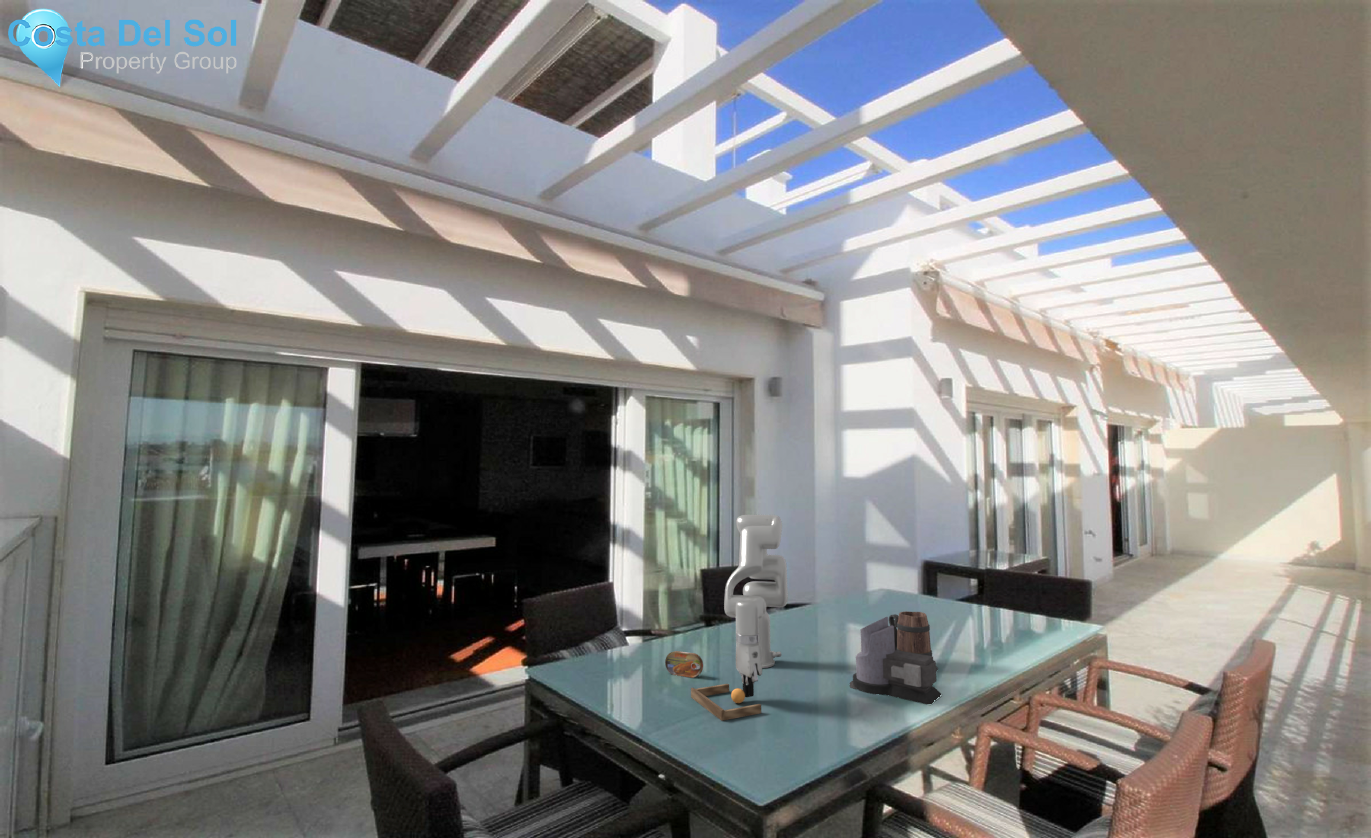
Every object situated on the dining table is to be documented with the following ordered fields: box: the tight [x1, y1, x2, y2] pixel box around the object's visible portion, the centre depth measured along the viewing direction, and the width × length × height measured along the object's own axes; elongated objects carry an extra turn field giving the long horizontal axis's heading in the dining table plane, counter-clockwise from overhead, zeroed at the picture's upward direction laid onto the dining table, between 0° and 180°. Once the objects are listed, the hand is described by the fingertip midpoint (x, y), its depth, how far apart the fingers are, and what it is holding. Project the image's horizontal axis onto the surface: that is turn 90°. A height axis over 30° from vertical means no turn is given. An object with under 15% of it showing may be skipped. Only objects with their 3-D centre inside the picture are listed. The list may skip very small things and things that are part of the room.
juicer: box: [849, 616, 942, 705], centre depth 214 cm, size 30×16×24 cm, turn 49°
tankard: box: [888, 610, 939, 672], centre depth 242 cm, size 24×17×20 cm
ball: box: [730, 688, 746, 704], centre depth 202 cm, size 4×4×4 cm
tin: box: [664, 650, 704, 679], centre depth 231 cm, size 15×3×8 cm, turn 62°
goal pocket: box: [690, 683, 762, 722], centre depth 200 cm, size 14×22×3 cm, turn 24°
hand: (748, 695), depth 204 cm, fingers closed
